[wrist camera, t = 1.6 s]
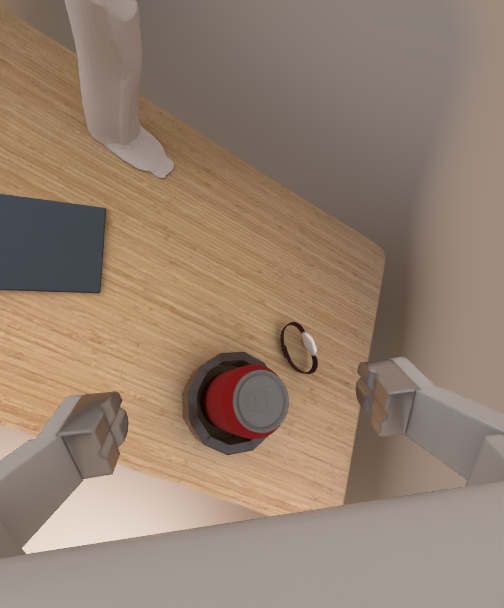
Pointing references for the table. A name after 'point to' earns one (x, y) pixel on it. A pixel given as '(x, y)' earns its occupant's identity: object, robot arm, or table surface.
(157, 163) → the candle
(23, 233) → the mat
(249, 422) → the beverage can
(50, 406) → the table surface
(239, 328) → the table surface
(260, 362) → the faceted ring
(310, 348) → the watch
